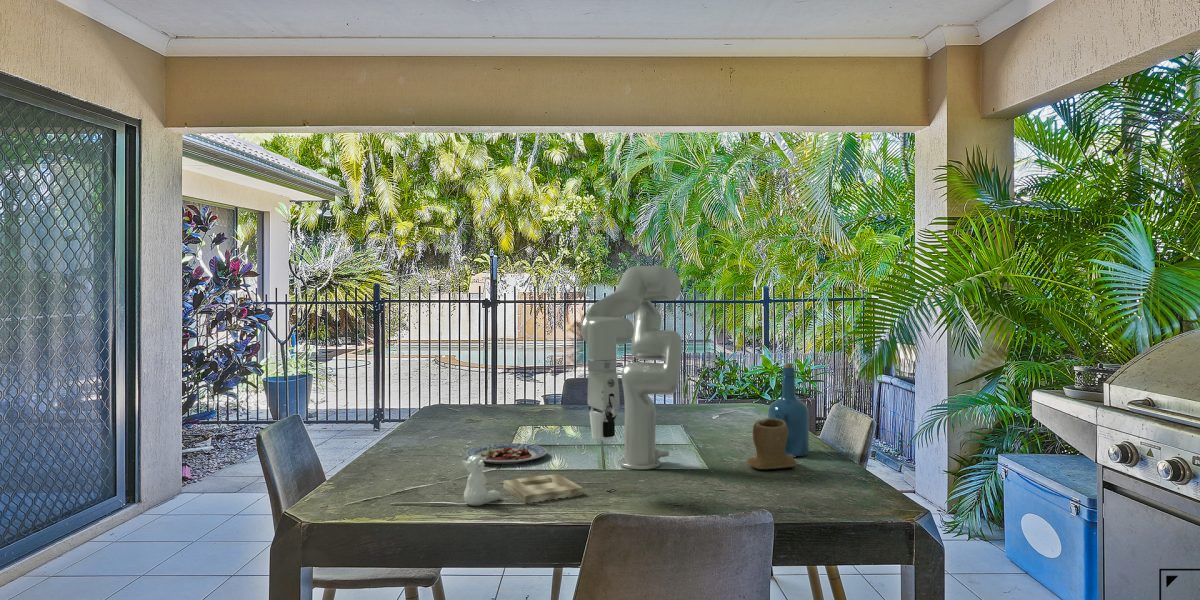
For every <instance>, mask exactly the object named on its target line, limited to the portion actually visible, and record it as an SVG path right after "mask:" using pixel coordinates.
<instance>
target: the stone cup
mask: <svg viewBox="0 0 1200 600" xmlns="http://www.w3.org/2000/svg"><path fill="white" fill-rule="evenodd" d="M787 438H788V427H787V424H786V422H785V421H783V420H781V419H777V418H768V417H767V418H764V419H761V420H756V422H755V423H754V424H753V428H752V440H753V444H754V447H755V451H756V452H755V453H756V456H755V457H749V458H748V459H746V463H747V465H748V466H750V467H751V468H754V469H757V470H773V469H774V470H776V469H777V470H778V469H788V468H794V467H797V462H796V460H795V457H793V455H792V454H786V455H785V447H786V442H787Z"/></svg>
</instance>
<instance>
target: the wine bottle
mask: <svg viewBox="0 0 1200 600" xmlns="http://www.w3.org/2000/svg"><path fill="white" fill-rule="evenodd" d="M781 377H782V382H781V385H782V386H781V396H779V397H778V398H777V399H776V400H775V401H773V402H771V404H769V407H768V417H767V418H777V419H781V420H783V421H785V422H786V424H787V427H788V438H787V442H786V447H785V455H786V454H792V455H793V458H795V457H794V456H802V457H805V456H808V455H809V452H810V451H809V448H810V443H809V442H810V441H809V440H810V439H809V437H810V436H809V435H810V433H809V432H810V429H809V428H810V425H809V424H810V422H809V421H810V420H809V418H810V413H809V412H810V411H809V409H808V406H807V404H806V403H804V402H802V401H801V400H799V399H798V398H797V397H796V387H795V386H796V383H795V381H796V379H795V378H796V372H795V367H794V364H793V363H792V362H786V363H784V366H783V367H782V373H781ZM807 454H808V455H807ZM804 455H805V456H804Z"/></svg>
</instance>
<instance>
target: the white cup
mask: <svg viewBox="0 0 1200 600" xmlns="http://www.w3.org/2000/svg"><path fill="white" fill-rule="evenodd" d="M609 413H610V412H607V416H608V414H609ZM589 422H590V432H591V439H593V440H595V441H610V440H612V439H614V436H613V437H603V422H605V421H604V416H603V411H601V410H598V409H597V410H592V411H590V410H589Z"/></svg>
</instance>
